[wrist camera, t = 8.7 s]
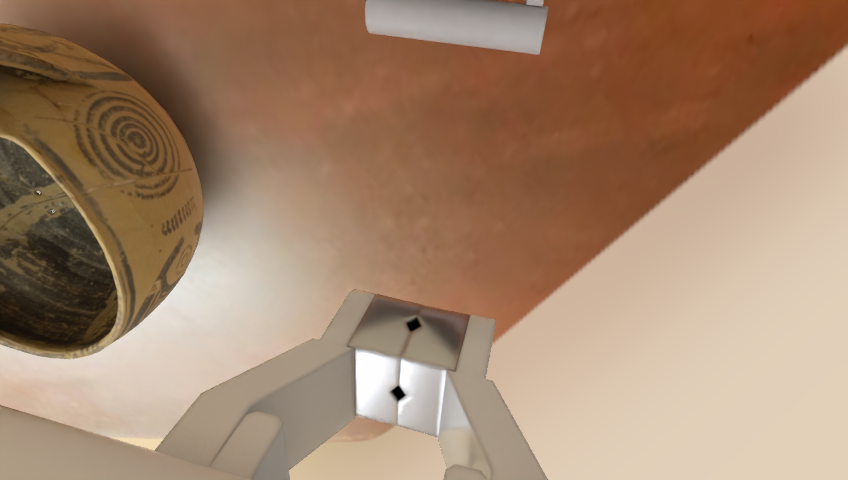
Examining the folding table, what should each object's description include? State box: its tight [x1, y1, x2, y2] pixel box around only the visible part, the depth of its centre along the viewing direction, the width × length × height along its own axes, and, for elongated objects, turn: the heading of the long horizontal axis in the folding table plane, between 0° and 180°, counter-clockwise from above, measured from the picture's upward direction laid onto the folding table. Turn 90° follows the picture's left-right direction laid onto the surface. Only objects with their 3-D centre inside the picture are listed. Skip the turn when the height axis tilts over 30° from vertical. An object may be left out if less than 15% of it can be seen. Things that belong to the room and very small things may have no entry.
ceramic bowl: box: [0, 24, 203, 359], centre depth 25 cm, size 22×17×15 cm
